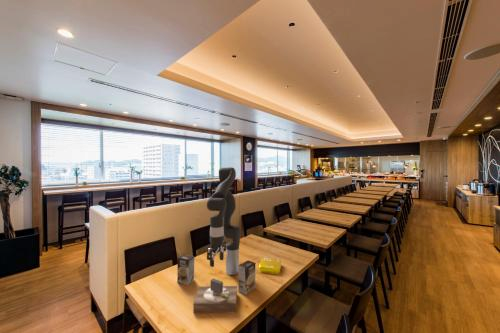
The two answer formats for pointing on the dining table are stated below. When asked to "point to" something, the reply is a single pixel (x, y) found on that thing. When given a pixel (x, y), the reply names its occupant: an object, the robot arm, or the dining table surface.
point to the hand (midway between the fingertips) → (216, 263)
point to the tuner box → (215, 300)
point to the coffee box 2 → (246, 277)
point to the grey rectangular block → (217, 287)
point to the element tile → (270, 266)
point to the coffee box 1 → (185, 269)
